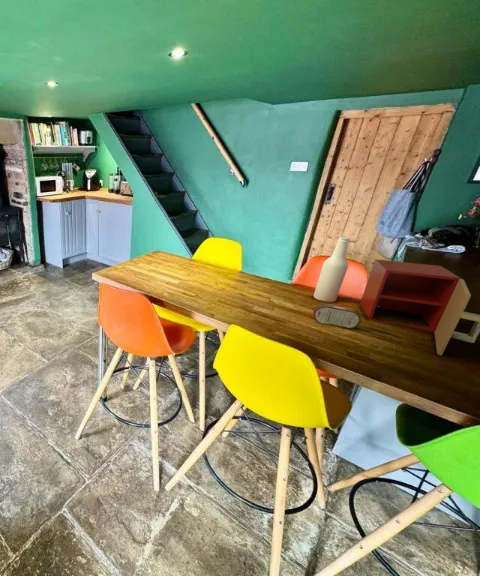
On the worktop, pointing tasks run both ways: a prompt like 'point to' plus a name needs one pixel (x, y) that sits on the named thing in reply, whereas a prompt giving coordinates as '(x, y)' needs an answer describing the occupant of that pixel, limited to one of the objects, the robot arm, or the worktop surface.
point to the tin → (337, 315)
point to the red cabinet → (409, 290)
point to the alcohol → (333, 273)
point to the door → (456, 319)
